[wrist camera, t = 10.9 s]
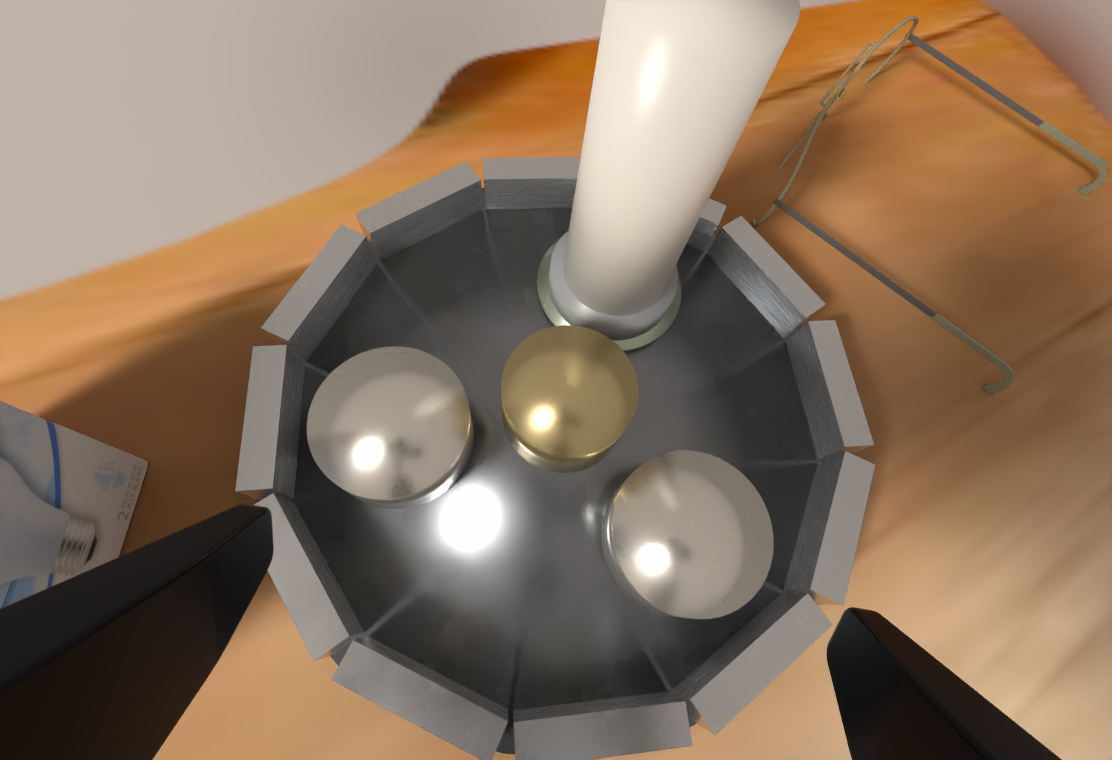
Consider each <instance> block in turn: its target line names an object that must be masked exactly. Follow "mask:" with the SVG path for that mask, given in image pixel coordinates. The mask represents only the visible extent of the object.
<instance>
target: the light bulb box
mask: <svg viewBox="0 0 1112 760" xmlns="http://www.w3.org/2000/svg"><path fill="white" fill-rule="evenodd" d="M147 467H148V462H147V461H146V460H144V459H141V458H139V457H136V456H134V455H132V454H129V453H127V452H125V451H122V450H120V449H117V448H115V447H112V446H110V445H107V444H105V443H102V442H100V441H98V440H95V439H93V438H90V437H88V436H86V435H83V434H81V433H78V432H76V431H73V430H71V429H69V428H66V427H64V426H61V425H59V424H56V423H54V422H51V421H48V420H46V419H44V418H41V417H39V416H36V415H33V414H31V413H28V412H26V411H23V410H21V409H18V408H16V407H13V406H11V405H8V404H6V403H3V402H1V401H0V609H1V608H3V607H5V606H8V605H10V604H12V603H15V602H17V601H19V600H21V599H24V598H26V597H28V596H31V595H33V594H35V593H38V592H40V591H42V590H44V589H47V588H49V587H51V586H54V585H56V584H58V583H60V582H63V581H65V580H67V579H70V578H72V577H74V576H77V575H79V574H81V573H83V572H86V571H88V570H90V569H93V568H95V567H97V566H99V565H102V564H104V563H106V562H109V561H111V560H113V559H116V558H118V557H119V555H120V552H121V549H122V545H123V542H124V539H125V536H126V533H127V530H128V527H129V523H130V520H131V517H132V514H133V511H134V508H135V505H136V502H137V499H138V496H139V493H140V490H141V487H142V483H143V480H144V477H145V474H146V471H147Z"/></svg>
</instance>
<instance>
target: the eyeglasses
mask: <svg viewBox="0 0 1112 760" xmlns="http://www.w3.org/2000/svg"><path fill="white" fill-rule="evenodd" d="M911 20H914V23H913V26H912V27H911V29H910V31H909V32H908V33H907V34H906V36H905V38H904V39H903V40H902V42H901V43H900V44H899V45H898V47H897V48H896V49H895V50H894V52H893V53H892V54H891V55H890V56H889V58H888V59H887V60H886V61H885V62H884V63H883V64H882V65H881V66H880V67H879V68H878V69H877V70H876V71H875V72H874V73H873V74H872V75H871V76H870V77H868V78H867V79H866V80H865V81H864V82H868V81H870V80H871V79H872V78H873V77H874V76H875V75H876V74H878V73H879V72H880V71H881V70H882V69H883V68H884V67H885V66H886V65H887V63H888V62H889V61H890V60H891V59H892V58H893V57H894V55H895V54H896V53H897V52H898V51H899V50H900V48H901V47H902V46H903V44H904V43H905V42H906V41H907V39H908V40H910V41H911V42H913V43H914V44H917V43H918V44H917V46H919V47H920V48H922V49H923V50H925V51H926V52H928V53H929V54H931V55H932V56H934V57H935V58H936V59H938V60H939V61H941V62H942V63H944V64H945V65H947V66H948V67H950V68H951V69H953V70H954V71H956V72H957V73H959V74H960V75H962V76H963V77H965V78H966V79H968V80H969V81H971V82H972V83H974V84H975V85H977V86H978V87H980V88H981V89H983V90H984V91H986V92H987V93H989V94H990V95H992V96H993V97H995V98H996V99H998V100H999V101H1001V102H1002V103H1004V104H1005V105H1007V106H1008V107H1010V108H1011V109H1013V110H1014V111H1016V112H1017V113H1019V114H1020V115H1022V116H1023V117H1025V118H1026V119H1028V120H1029V121H1031V122H1032V123H1034V124H1035V125H1037V126H1038V127H1039V128H1040V129H1042V130H1043V131H1045V132H1046V133H1048V134H1049V135H1051V136H1052V137H1054V138H1055V139H1057V140H1058V141H1060V142H1061V143H1063V144H1064V145H1066V146H1067V147H1069V148H1070V149H1072V150H1073V151H1075V152H1076V153H1078V154H1079V155H1081V156H1082V157H1084V158H1085V159H1087V160H1088V161H1090V162H1091V163H1093V164H1094V165H1095V166H1096V167H1097V168H1098V170H1099V176H1098V178H1097V179H1096V180H1095V181H1093V182H1091V183H1089V184H1088V185H1086V186H1084V187H1082V188H1080V189H1079V190H1078V191H1079V192H1080V193H1082V194H1084V195H1087V194H1088V193H1090V192H1091V191H1093V190H1095V189H1097V188H1098V187H1099V186H1100V185H1101V184H1102V183H1103V181H1104V180H1105V178H1106V177H1107V174H1108V166H1107V164H1106V162H1105V161H1104V160H1102V159H1101V158H1099V157H1098V156H1097V155H1095V154H1094V153H1092V152H1091V151H1089V150H1088V149H1086V148H1085V147H1083V146H1082V145H1080V144H1079V143H1077V142H1076V141H1074V140H1073V139H1071V138H1070V137H1068V136H1067V135H1065V134H1064V133H1062V132H1061V131H1059V130H1058V129H1056V128H1055V127H1053V126H1052V125H1050V124H1049V123H1047V122H1046V121H1042V120H1041V119H1039V118H1038V117H1036V116H1035V115H1033V114H1032V113H1030V112H1029V111H1027V110H1026V109H1024V108H1023V107H1021V106H1020V105H1018V104H1017V103H1015V102H1014V101H1012V100H1011V99H1009V98H1008V97H1006V96H1005V95H1003V94H1002V93H1000V92H999V91H997V90H996V89H994V88H993V87H991V86H990V85H988V84H987V83H985V82H984V81H982V80H981V79H979V78H978V77H976V76H975V75H973V74H972V73H970V72H969V71H967V70H966V69H964V68H963V67H961V66H960V65H958V64H957V63H955V62H954V61H952V60H951V59H949V58H948V57H946V56H945V55H943V54H942V53H940V52H939V51H937V50H936V49H934V48H933V47H931V46H930V45H928V44H927V43H925V42H923V41H922V40H921V39H919V38H918V37H916V36H915V35H913V34H912V33H913V31H914V29H915V28H916V26H917V24H918V17H916V16H912V17H909V18H907V19H905V20H904V21H902V22H901V23H899V24H898V25H897V26H896V27H894V28H893V29H892V30H891V31H889V32H888V33H887V34H886V35H885V36H884V37H883V38H882V39H881V40H880V41H879V42H878V43H877V44H876V45H874V44H873V43H868V44H867V46H866V47H865V48H864V49H863V50H862V52H861V53H860V54H859V55H858V56H857V58H856V59H855V60H854V61H853V62H852V64H851V65H850V66H849V67H848V68H847V70H846V71H845V72H844V73H843V74H842V76H841V77H840V78H839V79H838V80H837V82H836V83H835V84H834V85H833V86H832V88H831V89H830V90H829V91H828V92H827V94H826V95H825V96H824V97H823V98H822V100H821V101H820V104H821V105H822V106H823V107H824V108H823V109H822V111H821V112H820V113H819V115H818V116H817V117H816V118H815V120H814V121H813V122H812V124H811V125H810V126H809V127H808V129H807V130H806V131H805V133H804V134H803V135H802V137H801V138H800V139H799V140H798V142H797V143H796V144H795V146H794V147H793V148H792V150H791V151H790V152H789V154H788V155H787V156H786V157H785V159H784V160H783V161H782V163H781V164H780V166H779V167H778V169H781V168H782V167H783V166H784V164H785V163H786V162H787V160H788V159H789V158H790V156H791V155H792V154H793V152H794V151H795V150H796V149H797V147H798V146H799V145H800V143H801V142H802V141H803V140H804V138H805V137H806V136H807V134H808V133H809V132H810V131H811V129H812V128H813V129H812V131H811V133H810V136H809V138H808V140H807V143H806V145H805V147H804V149H803V152H802V154H801V156H800V159H799V161H798V163H797V165H796V167H795V169H794V172H793V174H792V176H791V177H790V179H789V181H788V183H787V184H786V186H785V188H784V189H783V191H782V192H781V194H780V195H779V196H778V198H777V199H776V200H775V201H774V202H773V205H772V206H771V207H770V209H769V210H768V211H767V212H766V213H765V215H764V216H763V217H762V218H761V219H760V220H759V221H758V222H756V220H755V219H754V220H753V225H754V226H759V225H760V224H762V223H763V222H764V221H765V219H766V218H767V217H768V216H769V215H770V214H771V213H772V211H773V210H774V209H775V207H776V206H778V207H779V208H780V209H782V210H783V211H785V212H786V213H788V214H789V215H790V216H792V217H793V218H794V219H796V220H797V221H798V222H800V223H801V224H803V225H804V226H805V227H807V228H808V229H810V230H811V231H812V232H814V233H815V234H816V235H818V236H819V237H821V238H822V239H823V240H825V241H826V242H827V243H829V244H830V245H832V246H833V247H834V248H836V249H837V250H839V251H840V252H841V253H843V254H844V255H845V256H847V257H848V258H850V259H851V260H852V261H854V262H855V263H856V264H858V265H859V266H861V267H862V268H863V269H865V270H866V271H867V272H869V273H870V274H872V275H873V276H874V277H876V278H877V279H879V280H880V281H881V282H883V283H884V284H885V285H887V286H888V287H890V288H891V289H892V290H894V291H895V292H896V293H898V294H899V295H901V296H902V297H903V298H905V299H906V300H908V301H909V302H910V303H912V304H913V305H914V306H916V307H917V308H919V309H920V310H921V311H923V312H924V313H925V314H927V315H928V316H930V317H931V319H933V320H934V321H935V322H937V323H938V324H939V325H941V326H942V327H944V328H945V329H946V330H948V331H949V332H950V333H952V334H953V335H955V336H956V337H957V338H959V339H960V340H962V341H963V342H964V343H966V344H967V345H968V346H970V347H971V348H973V349H974V350H975V351H977V352H978V353H980V354H981V355H982V356H984V357H985V358H986V359H988V360H989V361H991V362H992V363H993V364H995V365H996V366H998V367H999V368H1000V369H1001V370H1002V372H1003V374H1004V378H1003V380H1001V381H998V382H995V383H991V384H987V385H984V386H983V389H985V390H986V391H988V392H989V393H991V394H993V393H995V392H998V391H1001V390H1004V389H1006V388H1007V387H1008V386H1009V385H1010V384H1011V383H1012V381H1013V379H1014V371H1013V369H1012V368H1011V367H1010V366H1009V364H1007V363H1006V362H1005V361H1004V360H1002V359H1001V358H999V357H998V356H997V355H995V354H994V353H993V352H991V351H990V350H988V349H987V348H986V347H984V346H983V345H982V344H980V343H979V342H977V341H976V340H975V339H973V338H972V337H970V336H969V335H968V334H966V333H965V332H964V331H962V330H961V329H959V328H958V327H957V326H955V325H954V324H953V323H951V322H950V321H948V320H947V319H946V318H944V317H943V316H941V315H940V314H939V313H935V312H934V311H932V310H931V309H930V308H928V307H927V306H926V305H924V304H923V303H921V302H920V301H919V300H917V299H916V298H914V297H913V296H912V295H910V294H909V293H908V292H906V291H905V290H903V289H902V288H901V287H899V286H898V285H896V284H895V283H894V282H892V281H891V280H890V279H888V278H887V277H885V276H884V275H883V274H881V273H880V272H878V271H877V270H876V269H874V268H873V267H872V266H870V265H869V264H867V263H866V262H865V261H863V260H862V259H860V258H859V257H858V256H856V255H855V254H854V253H852V252H851V251H849V250H848V249H847V248H845V247H844V246H842V245H841V244H840V243H838V242H837V241H836V240H834V239H833V238H831V237H830V236H829V235H827V234H826V233H825V232H823V231H822V230H820V229H819V228H818V227H816V226H815V225H813V224H812V223H811V222H809V221H808V220H807V219H805V218H804V217H802V216H801V215H800V214H798V213H797V212H795V211H794V210H792V209H791V208H790V207H789V206H787V205H786V204H784V203H783V202H782V201H781V199H782V198H783V196H784V195H785V194H786V192H787V190H788V189H789V187H790V186H791V184H792V182H793V180H794V179H795V177H796V175H797V173H798V171H799V169H800V167H801V164H802V162H803V160H804V158H805V155H806V153H807V151H808V148H809V146H810V144H811V141H812V139H813V137H814V134H815V132H816V130H817V128H818V126H819V124H820V122H821V120H822V118H823V116H824V115H826V117H827V116H828V114H826V111H827V110H828V109H829V107H830V106H831V105H832V104H833V102H834V101H835V100H836V98H837V97H838V96H839V97H840V95H841V93H842V92H843V90H844V88H845V87H846V85H847V84H848V83H849V81H850V80H851V79H852V78H853V76H854V75H855V74H856V73H857V71H858V70H859V69H860V68H861V66H862V65H863V64H864V63H865V62H866V60H867V59H868V58H869V57H870V55H871V54H872V53H873V52H874V51H875V50H876V49H877V48H878V47H879V46H880V45H881V44H882V43H883V42H884V41H885V40H886V39H887V38H888V37H889V36H890V35H891V34H893V33H894V32H895V31H896V30H897V29H899V28H900V27H901V26H903V25H904V24H906V23H907V22H909V21H911ZM922 42H923V43H922ZM870 45H871V46H873V48H872V49H871V50H870V51H869V52H868V54H867V55H866V56H865V57H864V58H863V59H862V61H861V62H860V63H859V64H858V66H857V67H856V68H855V69H854V71H853V72H852V73H851V74H850V76H849V77H848V78H847V80H846V81H845V82H844V81H843V80H841V79H842V78H843V77H844V76H845V75H846V73H847V72H848V71H849V70H850V68H851V67H852V66H853V65H854V64H855V62H856V61H857V60H858V59H859V58H860V56H861V55H862V54H863V53H864V52H865V50H866V49H867V48H868V47H869V46H870ZM839 82H840V83H842V84H843V85H842V86H841V87H840V89H839V90H838V91H837V93H836V94H835V95H834V97H833V98H831V99H830V100H829V101H828V102H827V104H826V105H825V104H824V103H823V101H824V100H825V99H826V98H827V96H828V95H829V94H830V93H831V91H832V90H833V89H834V88H835V87H836V85H837V84H838V83H839ZM845 93H846V90H845ZM845 93H844V94H845ZM839 94H840V95H839ZM844 94H843V95H842V97H841V99H843V96H844ZM826 117H824V120H823V121H825V119H826ZM793 211H794V212H793ZM792 212H793V213H792Z"/></svg>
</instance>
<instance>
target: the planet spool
mask: <svg viewBox="0 0 1112 760" xmlns="http://www.w3.org/2000/svg"><path fill="white" fill-rule="evenodd" d="M799 14H800V3H799V0H606V6H605V12H604V18H603V24H602V31H601V37H600V43H599V49H598V55H597V61H596V67H595V73H594V79H593V85H592V91H591V97H590V103H589V110H588V116H587V122H586V128H585V134H584V140H583V146H582V152H581V158H580V164H579V170H578V176H577V183H576V189H575V195H574V201H573V207H572V213H571V219H570V225H569V231H567V232H566V233H565V234H564V235H563V236H562V237H561V238H560V240H559V241H558V243H557V244H556V246H555V248H554V251H553V254H552V257H551V264H550V272H549V279H548V284H549V292H550V296H551V299H552V302H553V304H554V306H555V308H556V310H557V311H558V312H559V314H560V315H561V316H562V317H563V319H564V320H565V321H566V322H567V323H569V324H570V325H574V326H581V327H585V328H589V329H592V330H595V331H597V332H599V333H601V334H603V335H605V336H607V337H608V338H610V339H611V340H615V341H619V340H627V339H631V338H635V337H638V336H640V335H642V334H644V333H646V332H648V331H649V330H651V329H652V328H653V327H655V326H656V325H657V324H658V323H659V322H660V320H661V319H662V318H663V316H664V315H665V313H666V311H667V309H668V307H669V305H670V304H671V302H672V300H673V298H674V296H675V293H676V290H677V286H678V269H677V265H676V263H677V261H678V259H679V257H680V256H681V254H682V252H683V250H684V248H685V246H686V244H687V242H688V240H689V238H690V236H691V234H692V232H693V230H694V228H695V226H696V224H697V222H698V220H699V218H700V216H701V214H702V212H703V210H704V208H705V206H706V204H707V202H708V200H709V198H710V196H711V194H712V192H713V190H714V188H715V186H716V184H717V182H718V180H719V178H720V176H721V174H722V172H723V170H724V168H725V166H726V164H727V162H728V160H729V158H730V156H731V154H732V152H733V150H734V148H735V146H736V144H737V142H738V140H739V138H740V136H741V134H742V132H743V130H744V128H745V126H746V124H747V122H748V120H749V118H750V116H751V114H752V112H753V110H754V108H755V106H756V104H757V102H758V100H759V98H760V96H761V94H762V92H763V90H764V88H765V86H766V84H767V82H768V80H769V78H770V76H771V74H772V72H773V70H774V68H775V66H776V64H777V62H778V60H779V58H780V56H781V54H782V52H783V50H784V48H785V46H786V44H787V42H788V40H789V38H790V36H791V34H792V32H793V30H794V28H795V26H796V24H797V22H798V18H799Z"/></svg>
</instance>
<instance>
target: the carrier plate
mask: <svg viewBox="0 0 1112 760" xmlns="http://www.w3.org/2000/svg"><path fill="white" fill-rule="evenodd" d="M580 158H581V157H553V158H483V167H484V185H485V188H481V180H480V179H479V178H478V176H477V175H476V174H475V173H474V171H473V170H472V169H471V167H470V166H469V165H468V164H467V162H465V163H463V164H460V165H458V166H456V167H454V168H452V169H450V170H448V171H445V172H443V173H441V174H439V175H437V176H435V177H433V178H430V179H428V180H426V181H424V182H422V183H420V184H417V185H415V186H413V187H411V188H409V189H407V190H405V191H402V192H400V193H398V194H396V195H394V196H392V197H390V198H387V199H385V200H383V201H381V202H379V203H377V204H375V205H372V206H370V207H368V208H366V209H364V210H362V211H359V212H357V213H356V216H357V218H358V221H359V223H360V226H361V228H362V231H363V233H364V235H363V234H361V233H359V232H356V231H354V230H352V229H350V228H347V227H345V226H343V225H340V227H339V228H338V229H337V231H336V232H335V233H334V234H333V236H332V237H331V238H330V240H329V241H328V242H327V243H326V245H325V246H324V247H323V249H322V250H321V251H320V252H319V254H318V255H317V256H316V258H315V259H314V260H313V261H312V263H311V264H310V265H309V267H308V268H307V269H306V270H305V272H304V273H303V274H302V276H301V277H300V278H299V279H298V281H297V282H296V283H295V285H294V286H293V287H292V288H291V290H290V291H289V292H288V294H287V295H286V296H285V297H284V299H283V300H282V301H281V303H280V304H279V305H278V306H277V308H276V309H275V310H274V312H273V313H272V314H271V315H270V317H269V318H268V319H267V321H266V322H265V323H264V324H263V326H262V327H261V329H262V330H263V331H264V332H265V333H266V334H267V335H268V336H269V337H270V339H271V340H272V341H273V342H274V343H275V344H276V345H272V346H253V351H252V359H251V367H250V375H249V383H248V391H247V399H246V408H245V416H244V424H243V432H242V440H241V448H240V456H239V465H238V473H237V481H236V489H235V491H236V492H239V493H241V494H244V495H246V496H249V497H251V498H254V499H256V500H258V502H257V503H256V504H254V505H257V506H262V507H267V508H268V509H270V510H271V513H272V519H273V543H274V552H273V557H272V561H271V564H270V566H269V568H268V572H269V574H270V576H271V578H272V580H273V582H274V584H275V586H276V588H277V590H278V592H279V594H280V596H281V598H282V600H283V602H284V604H285V606H286V608H287V610H288V612H289V614H290V616H291V618H292V620H293V622H294V624H295V626H296V628H297V630H298V632H299V634H300V636H301V638H302V640H303V642H304V644H305V646H306V648H307V650H308V652H309V654H310V656H311V658H312V660H313V661H316V660H319V659H322V658H325V657H328V656H331V657H332V659H333V660H334V661H335V662H336V663H337V664H338V668H337V670H336V672H335V674H334V676H333V677H332V679H331V680H333V681H335V682H336V683H338V684H340V685H342V686H344V687H346V688H348V689H350V690H351V691H353V692H355V693H357V694H359V695H361V696H363V697H364V698H366V699H368V700H370V701H372V702H374V703H376V704H378V705H379V706H381V707H383V708H385V709H387V710H389V711H391V712H393V713H394V714H396V715H398V716H400V717H402V718H404V719H406V720H408V721H409V722H411V723H413V724H415V725H417V726H419V727H421V728H422V729H424V730H426V731H428V732H430V733H432V734H434V735H436V736H437V737H439V738H441V739H443V740H445V741H447V742H449V743H451V744H452V745H454V746H456V747H458V748H460V749H462V750H464V751H466V752H467V753H469V754H471V755H473V756H475V757H477V758H479V759H480V760H492V759H493V756H494V754H495V751H497V752H501V753H507V754H515V757H516V760H590V759H597V758H605V757H612V756H620V755H627V754H635V753H643V752H650V751H658V750H665V749H673V748H680V747H688V746H692V740H691V734H690V727H691V726H693V725H695V724H696V723H697V724H699V725H700V726H702V727H703V728H705V729H706V730H708V731H709V732H711V733H712V734H714V735H716V734H717V733H718V732H719V731H720V730H721V729H722V728H723V727H724V726H725V725H726V724H727V723H729V722H730V721H731V720H732V719H733V718H734V717H735V716H736V715H737V714H738V713H739V712H740V711H741V710H742V709H743V708H744V707H746V706H747V705H748V704H749V703H750V702H751V701H752V700H753V699H754V698H755V697H756V696H757V695H758V694H759V693H760V692H761V691H763V690H764V689H765V688H766V687H767V686H768V685H769V684H770V683H771V682H772V681H773V680H774V679H775V678H776V677H777V676H778V675H780V674H781V673H782V672H783V671H784V670H785V669H786V668H787V667H788V666H789V665H790V664H791V663H792V662H793V661H794V660H795V659H797V658H798V657H799V656H800V655H801V654H802V653H803V652H804V651H805V650H806V649H807V648H808V647H809V646H810V645H811V644H812V643H814V642H815V641H816V640H817V639H818V638H819V637H820V636H821V635H822V634H823V633H824V632H825V631H826V630H827V629H828V628H829V627H831V626H832V625H833V624H832V623H831V622H830V621H829V619H828V618H827V617H826V615H825V614H824V613H823V612H822V610H821V609H820V608H819V607H818V605H844V601H845V596H846V592H847V588H848V583H849V579H850V574H851V570H852V565H853V561H854V557H855V552H856V548H857V543H858V539H859V535H860V530H861V526H862V521H863V517H864V513H865V508H866V504H867V499H868V495H869V491H870V486H871V482H872V477H873V473H874V469H875V464H873V463H871V462H868V461H866V460H864V459H862V458H859V457H857V456H855V455H853V454H854V453H856V452H858V451H861V450H863V449H865V448H868V447H870V446H872V445H874V442H873V439H872V436H871V433H870V430H869V426H868V423H867V420H866V417H865V414H864V410H863V407H862V404H861V401H860V398H859V394H858V391H857V388H856V385H855V382H854V378H853V375H852V372H851V369H850V366H849V362H848V359H847V356H846V353H845V350H844V346H843V343H842V340H841V337H840V334H839V330H838V327H837V324H836V321H835V320H823V321H808V320H809V319H810V318H812V317H813V316H814V315H815V314H816V313H817V312H818V311H819V310H820V309H821V308H822V307H823V306H824V305H825V303H824V302H823V301H822V300H821V299H820V298H819V297H818V295H817V294H816V293H815V292H814V291H813V290H812V289H811V288H810V287H809V286H808V285H807V284H806V283H805V282H804V281H803V280H802V279H801V278H800V277H799V276H798V274H797V273H796V272H795V271H794V270H793V269H792V268H791V267H790V266H789V265H788V264H787V263H786V262H785V261H784V260H783V259H782V258H781V257H780V256H779V255H778V253H777V252H776V251H775V250H774V249H773V248H772V247H771V246H770V245H769V244H768V243H767V242H766V241H765V240H764V239H763V238H762V237H761V236H760V235H759V234H758V232H757V231H756V230H755V229H754V228H753V227H752V226H751V225H750V224H749V223H748V222H747V221H746V220H745V219H744V218H743V217H742V216H740V217H738V218H736V219H735V220H733V221H731V222H730V223H728V224H726V225H725V226H723V227H722V228H721V229H720V231H719V233H718V235H716V234H714V232H715V231H716V229H717V227H718V225H719V223H720V221H721V218H722V216H723V214H724V211H725V209H726V205H724V204H722V203H719V202H717V201H714V200H712V199H710V198H709V200H708V202H707V204H706V206H705V208H704V210H703V212H702V214H701V216H700V218H699V220H698V222H697V224H696V226H695V228H694V230H693V232H692V234H691V236H690V238H689V240H688V242H687V244H686V246H685V248H684V250H683V252H682V254H681V256H680V257H679V259H678V261H677V263H676V265H677V269H678V286H677V290H676V293H675V296H674V298H673V300H672V302H671V304H670V305H669V307H668V309H667V311H666V313H665V315H664V316H663V318H662V319H661V320H660V322H659V323H658V324H657V325H656V326H655V327H653V328H652V329H651V330H649V331H648V332H646V333H644V334H642V335H640V336H638V337H635V338H631V339H627V340H619V341H615V340H611V339H610V338H608V337H607V336H605V335H603V334H601V333H599V332H597V331H595V330H592V329H589V328H585V327H581V326H574V325H570V324H569V323H567V322H566V321H565V320H564V319H563V317H562V316H561V315H560V314H559V312H558V311H557V310H556V308H555V306H554V304H553V302H552V299H551V296H550V292H549V284H548V279H549V272H550V264H551V257H552V254H553V251H554V248H555V246H556V244H557V243H558V241H559V240H560V238H561V237H562V236H563V235H564V234H565V233H566V232H567V231H569V225H570V219H571V213H572V207H573V201H574V195H575V189H576V183H577V176H578V170H579V164H580ZM807 321H808V322H807ZM806 322H807V323H806ZM805 323H806V324H805ZM804 324H805V325H804ZM803 325H804V326H803Z"/></svg>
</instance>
